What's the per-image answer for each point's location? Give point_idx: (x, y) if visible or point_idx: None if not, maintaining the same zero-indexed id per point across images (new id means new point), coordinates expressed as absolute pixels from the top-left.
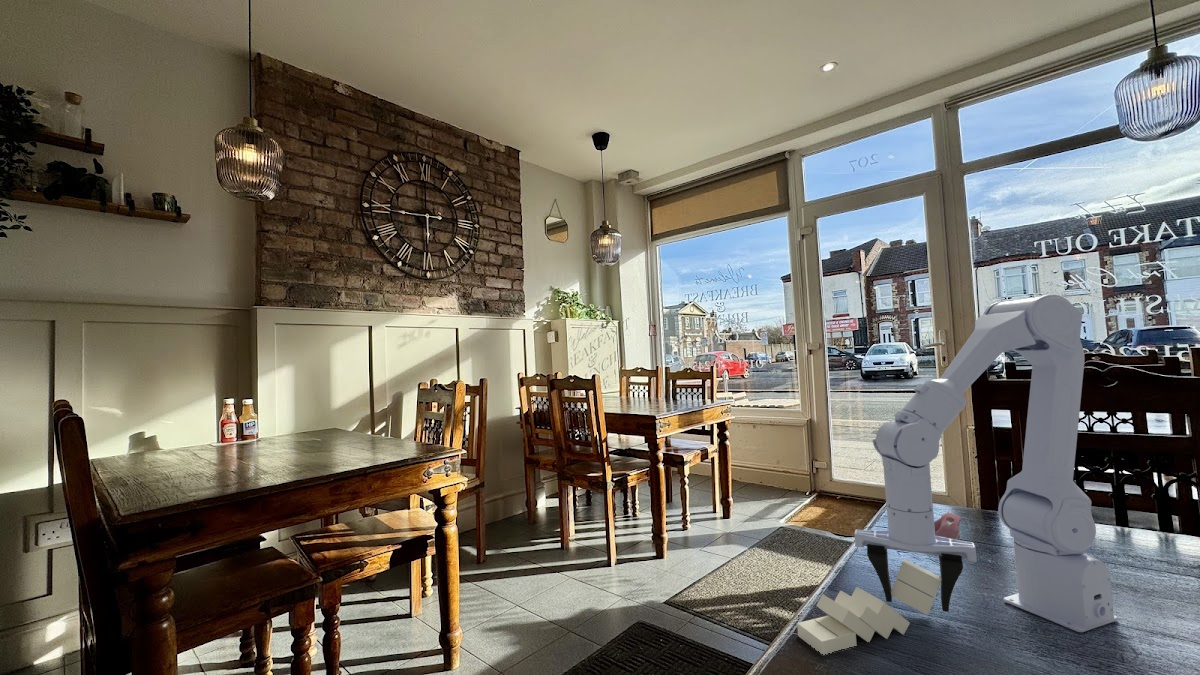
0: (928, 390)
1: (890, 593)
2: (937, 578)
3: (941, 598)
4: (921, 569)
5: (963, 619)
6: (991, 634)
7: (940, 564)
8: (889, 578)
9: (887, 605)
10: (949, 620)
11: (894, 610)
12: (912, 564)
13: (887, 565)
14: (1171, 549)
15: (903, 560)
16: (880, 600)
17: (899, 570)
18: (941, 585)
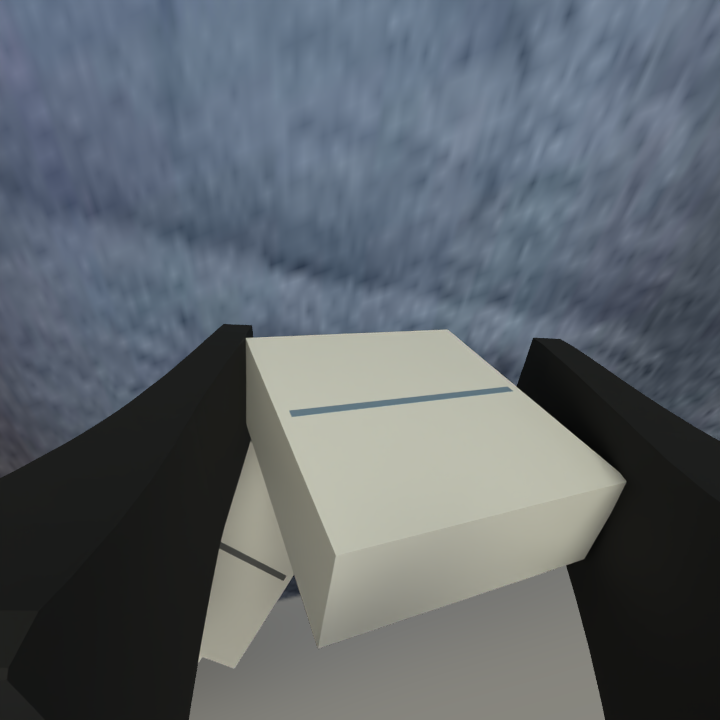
0: None
1: (246, 454)
2: (572, 549)
3: (541, 400)
4: (483, 557)
5: (612, 285)
6: (665, 382)
7: (677, 671)
8: (217, 394)
9: (249, 643)
10: (533, 319)
11: (278, 598)
12: (416, 566)
13: (185, 605)
14: None
15: (330, 601)
16: (216, 660)
17: (292, 557)
18: (589, 441)
